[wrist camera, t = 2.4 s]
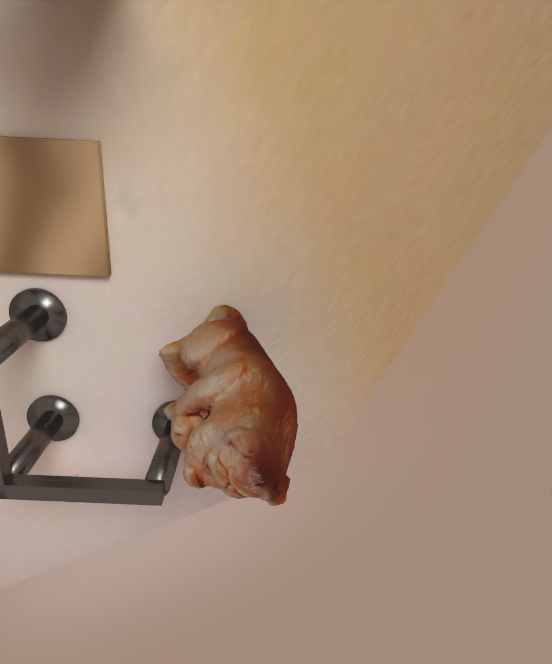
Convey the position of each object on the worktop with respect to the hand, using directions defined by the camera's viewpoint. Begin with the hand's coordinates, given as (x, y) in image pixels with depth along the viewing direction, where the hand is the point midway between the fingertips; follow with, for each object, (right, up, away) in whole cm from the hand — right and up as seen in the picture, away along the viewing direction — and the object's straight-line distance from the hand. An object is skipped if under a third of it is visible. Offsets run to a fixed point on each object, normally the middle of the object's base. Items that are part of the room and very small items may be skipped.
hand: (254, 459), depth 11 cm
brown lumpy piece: (-2, +3, +23) cm, 23 cm away
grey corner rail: (-11, 0, +24) cm, 26 cm away
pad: (-15, +10, +20) cm, 27 cm away
